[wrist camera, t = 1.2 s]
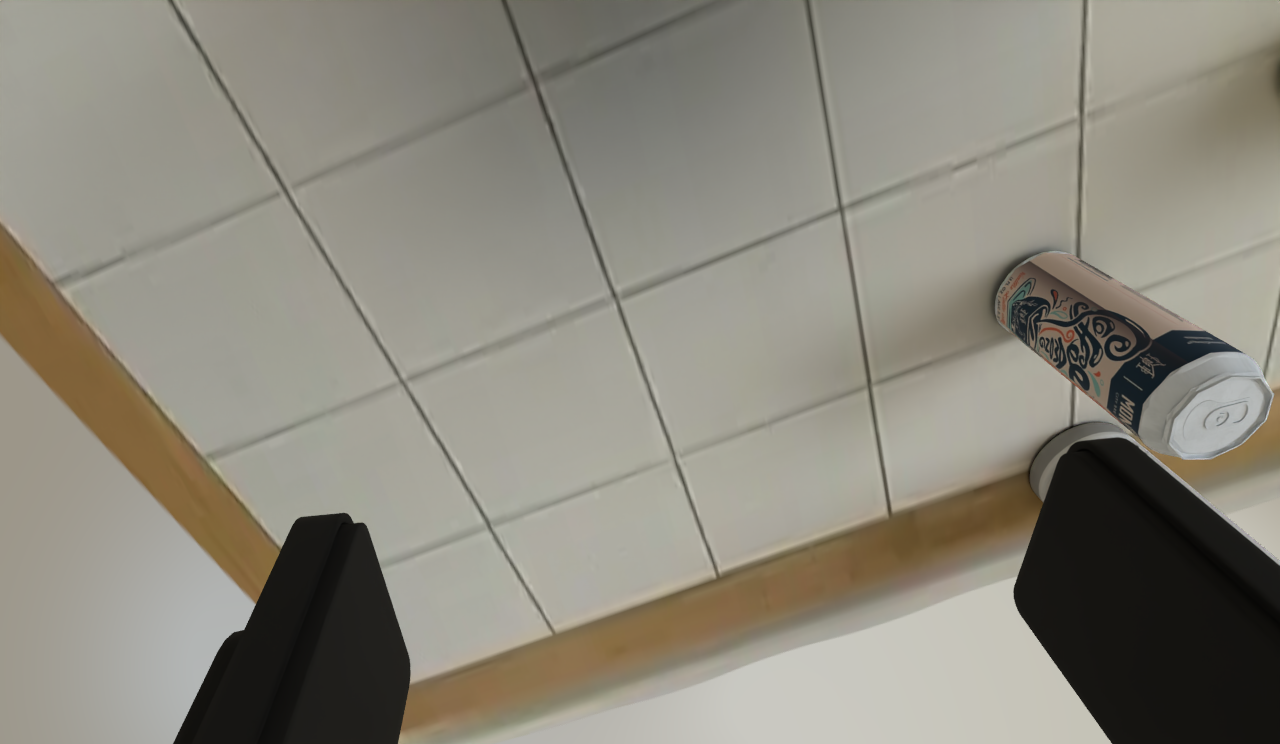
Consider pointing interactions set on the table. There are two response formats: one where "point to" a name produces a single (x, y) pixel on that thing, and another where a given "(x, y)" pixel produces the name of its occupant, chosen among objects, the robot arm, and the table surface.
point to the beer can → (1135, 357)
